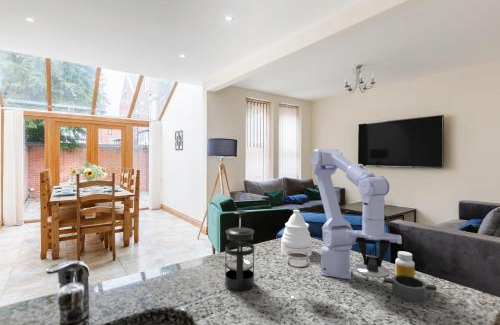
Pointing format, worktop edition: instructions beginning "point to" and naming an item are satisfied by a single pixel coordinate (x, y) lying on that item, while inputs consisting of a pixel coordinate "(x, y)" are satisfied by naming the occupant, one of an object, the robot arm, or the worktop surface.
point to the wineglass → (298, 268)
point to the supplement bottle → (404, 264)
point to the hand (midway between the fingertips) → (372, 264)
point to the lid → (372, 268)
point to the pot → (409, 288)
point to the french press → (239, 258)
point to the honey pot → (296, 235)
